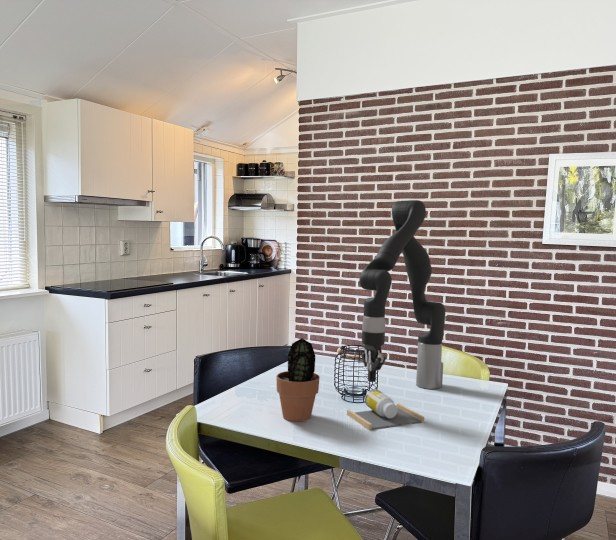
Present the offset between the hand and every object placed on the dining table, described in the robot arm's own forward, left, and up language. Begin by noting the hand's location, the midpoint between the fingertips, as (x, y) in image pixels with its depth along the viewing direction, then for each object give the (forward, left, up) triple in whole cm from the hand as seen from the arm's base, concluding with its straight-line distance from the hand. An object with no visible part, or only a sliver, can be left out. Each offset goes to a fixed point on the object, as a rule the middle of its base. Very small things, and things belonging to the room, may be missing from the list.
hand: (371, 381), depth 170 cm
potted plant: (+26, -2, -10) cm, 28 cm away
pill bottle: (0, 0, -6) cm, 6 cm away
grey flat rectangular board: (0, +8, -10) cm, 13 cm away
